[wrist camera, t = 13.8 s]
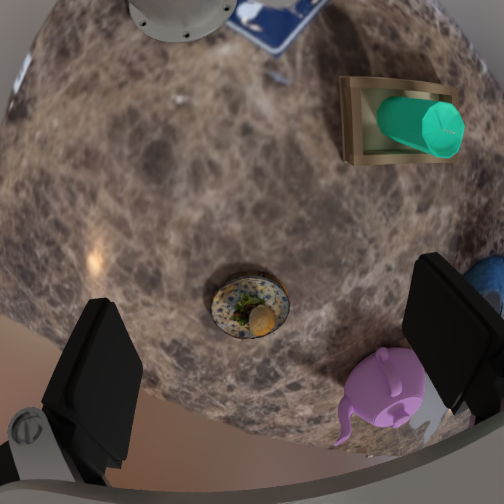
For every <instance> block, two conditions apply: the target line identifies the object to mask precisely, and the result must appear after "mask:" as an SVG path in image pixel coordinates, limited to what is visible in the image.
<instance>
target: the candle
mask: <svg viewBox="0 0 504 504" xmlns="http://www.w3.org/2000/svg"><path fill="white" fill-rule="evenodd" d="M377 124H378V126H379V128H380V130H381V132H382V133H383V134H384V135H385V136H387V137H388V138H389V139H391V140H394V141H396V142H399V143H402V144H405V145H407V146H410V147H413V148H415V149H418V150H420V151H423V152H425V153H428V154H430V155H433V156H435V157H438V158H450V157H452V156H453V155H454V154H456V153H457V152H458V150H459V147H460V144H461V141H462V138H463V133H464V128H465V125H464V123H463V121H462V118H461V116H460V114H459V112H458V111H457V109H456V108H455V107H454V106H453V105H452V104H450V103H445V102H440V101H433V100H425V99H417V98H408V97H398V96H391V97H389V98H387V99H385V100H383V101H382V103H381V104H380V106H379V108H378V110H377Z"/></svg>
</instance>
